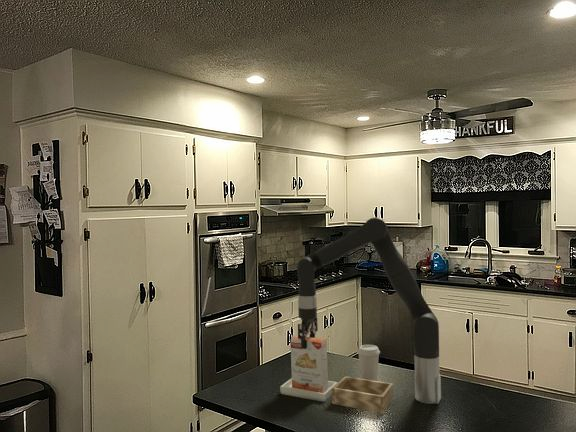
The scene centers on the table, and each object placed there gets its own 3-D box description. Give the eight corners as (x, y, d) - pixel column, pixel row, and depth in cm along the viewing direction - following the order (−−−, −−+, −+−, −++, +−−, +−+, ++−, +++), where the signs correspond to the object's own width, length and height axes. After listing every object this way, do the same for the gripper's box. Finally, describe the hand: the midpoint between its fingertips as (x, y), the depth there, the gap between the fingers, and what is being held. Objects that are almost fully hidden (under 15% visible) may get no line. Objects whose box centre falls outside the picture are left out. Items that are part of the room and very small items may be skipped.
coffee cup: (379, 378, 207) (378, 344, 207) (381, 386, 197) (381, 350, 197) (357, 377, 208) (356, 344, 208) (358, 386, 198) (357, 350, 198)
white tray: (337, 389, 195) (337, 382, 195) (324, 402, 183) (324, 394, 183) (295, 382, 204) (295, 375, 204) (280, 393, 192) (280, 386, 192)
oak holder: (393, 398, 185) (393, 383, 185) (383, 413, 172) (383, 396, 172) (345, 390, 194) (345, 376, 194) (332, 403, 182) (332, 388, 181)
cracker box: (291, 389, 194) (289, 338, 194) (297, 383, 200) (296, 334, 199) (322, 394, 188) (321, 342, 187) (328, 389, 193) (327, 338, 193)
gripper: (308, 310, 185) (309, 352, 185) (322, 303, 198) (323, 342, 198) (291, 308, 188) (292, 349, 189) (306, 302, 201) (307, 340, 201)
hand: (308, 345), depth 193 cm, fingers open, 7 cm apart
